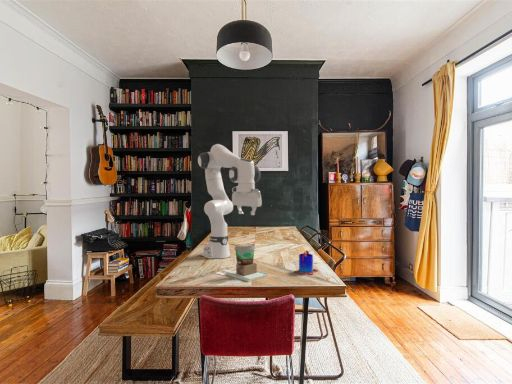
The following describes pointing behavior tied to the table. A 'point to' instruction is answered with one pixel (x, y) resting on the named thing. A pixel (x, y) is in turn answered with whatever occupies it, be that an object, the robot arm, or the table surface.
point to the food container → (245, 254)
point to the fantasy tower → (306, 264)
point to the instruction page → (223, 272)
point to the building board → (248, 277)
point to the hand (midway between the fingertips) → (246, 214)
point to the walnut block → (246, 269)
